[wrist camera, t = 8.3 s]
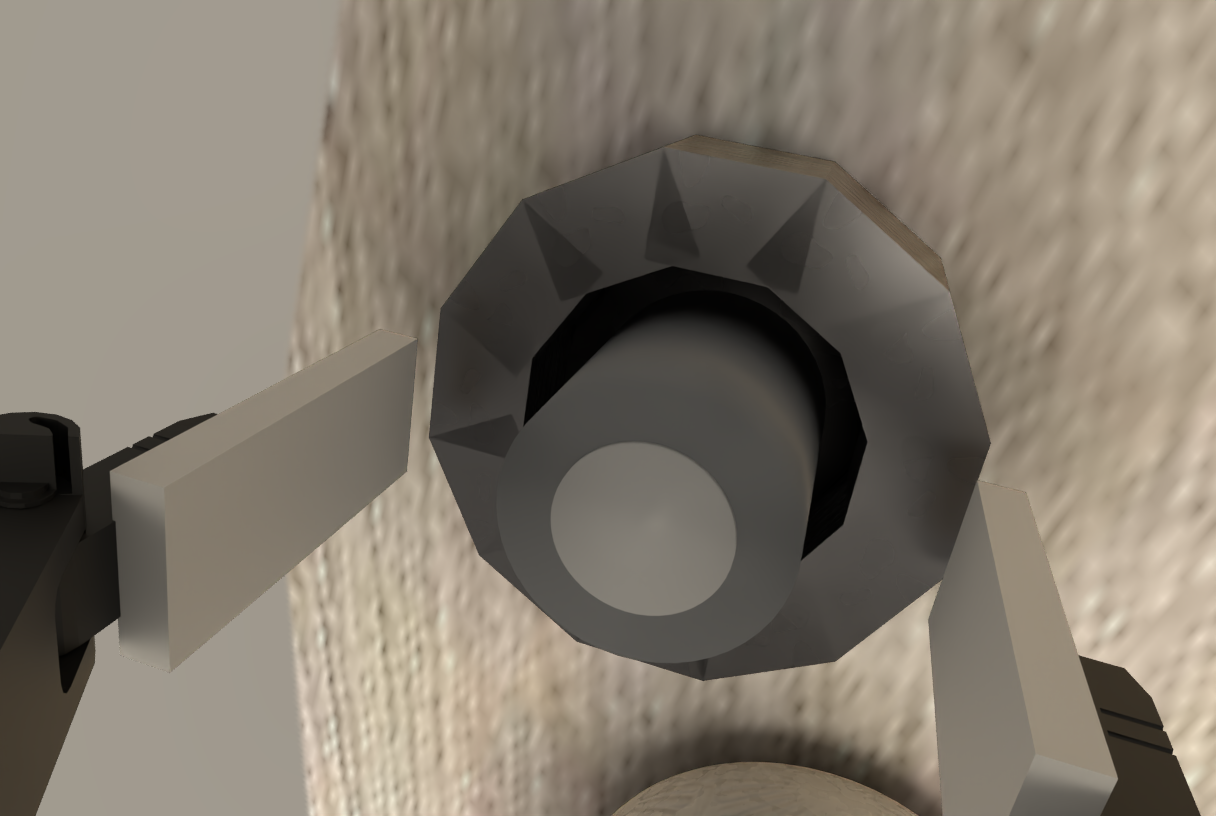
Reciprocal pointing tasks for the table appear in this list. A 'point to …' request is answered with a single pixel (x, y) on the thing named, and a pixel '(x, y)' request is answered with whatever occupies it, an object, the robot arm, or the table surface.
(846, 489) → the grey ring
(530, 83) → the table surface
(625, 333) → the cap
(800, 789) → the planter
